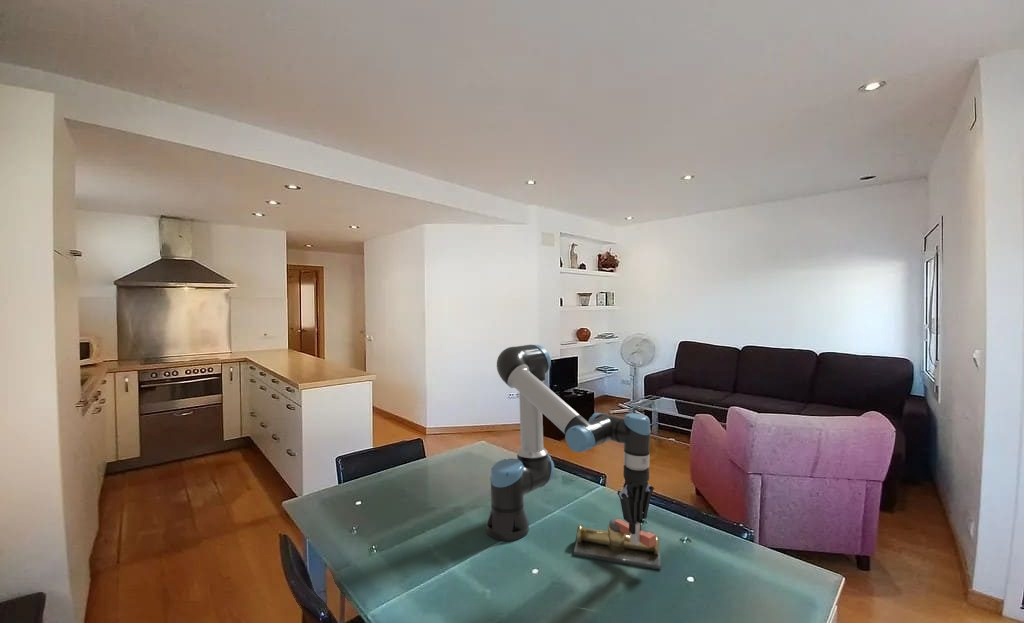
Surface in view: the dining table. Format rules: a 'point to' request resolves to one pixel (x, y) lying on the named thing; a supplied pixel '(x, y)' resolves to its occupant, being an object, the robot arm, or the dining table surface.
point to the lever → (620, 525)
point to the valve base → (618, 555)
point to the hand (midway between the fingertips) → (634, 542)
